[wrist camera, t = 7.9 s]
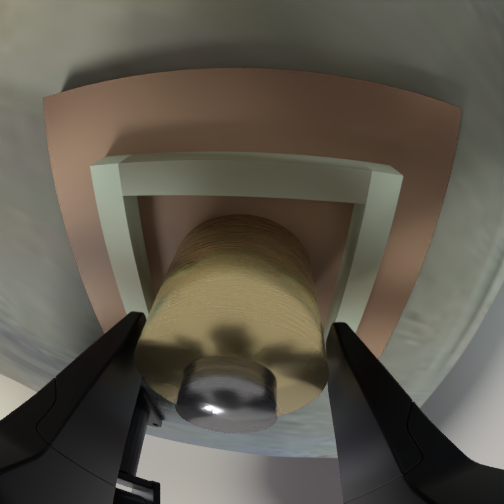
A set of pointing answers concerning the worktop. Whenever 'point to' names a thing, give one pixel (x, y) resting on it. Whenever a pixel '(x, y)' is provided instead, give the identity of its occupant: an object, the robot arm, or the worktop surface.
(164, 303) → the tan two-tone cylinder
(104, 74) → the worktop surface
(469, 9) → the worktop surface
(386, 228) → the carrier board
